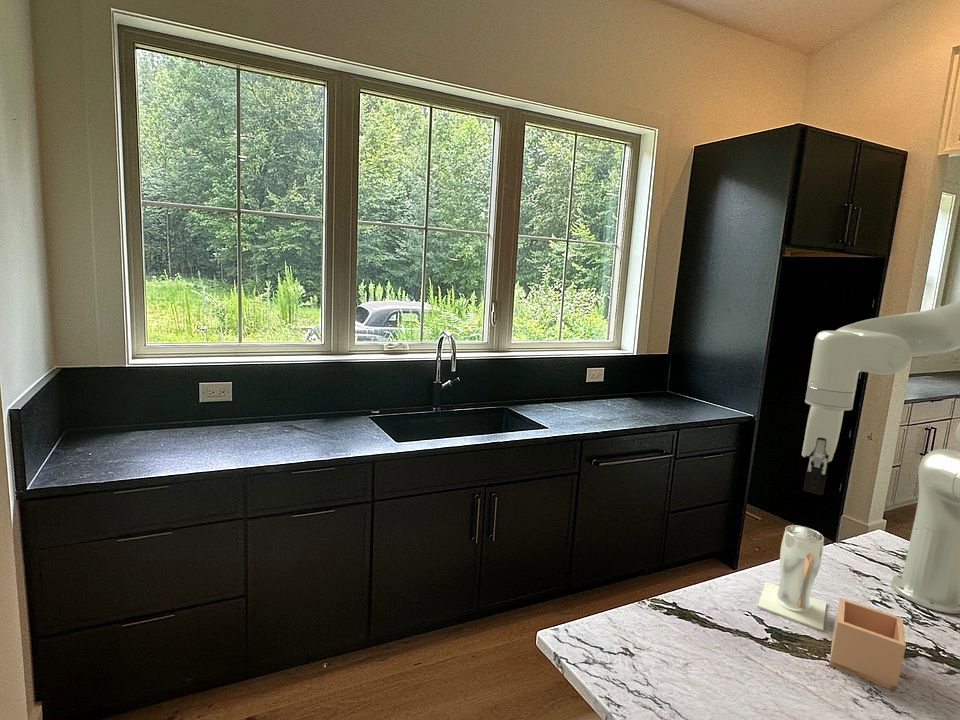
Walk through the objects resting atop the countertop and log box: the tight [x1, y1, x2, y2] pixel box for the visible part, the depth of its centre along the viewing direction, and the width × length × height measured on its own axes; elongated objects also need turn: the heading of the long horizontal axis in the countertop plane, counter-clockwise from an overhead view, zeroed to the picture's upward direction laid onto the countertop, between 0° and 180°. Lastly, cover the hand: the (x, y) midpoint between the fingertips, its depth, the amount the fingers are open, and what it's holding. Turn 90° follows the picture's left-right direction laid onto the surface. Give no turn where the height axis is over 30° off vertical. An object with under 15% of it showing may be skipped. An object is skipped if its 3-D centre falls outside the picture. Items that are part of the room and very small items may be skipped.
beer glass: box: [775, 524, 825, 612], centre depth 107 cm, size 7×7×15 cm
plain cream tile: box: [756, 581, 827, 632], centre depth 108 cm, size 11×11×1 cm
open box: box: [829, 597, 907, 692], centre depth 92 cm, size 9×9×8 cm
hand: (814, 485), depth 104 cm, fingers open, 9 cm apart
